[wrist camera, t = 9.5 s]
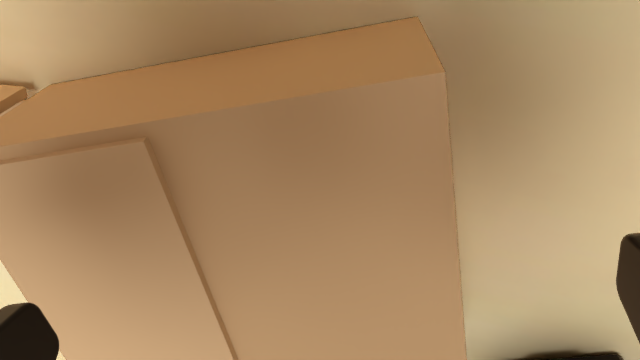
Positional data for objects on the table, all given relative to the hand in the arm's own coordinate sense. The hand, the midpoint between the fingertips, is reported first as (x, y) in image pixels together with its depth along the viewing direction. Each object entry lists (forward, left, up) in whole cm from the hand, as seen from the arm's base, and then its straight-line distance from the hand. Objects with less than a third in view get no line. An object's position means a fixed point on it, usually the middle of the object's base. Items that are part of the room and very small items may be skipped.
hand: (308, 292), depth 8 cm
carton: (-9, +6, -12) cm, 16 cm away
